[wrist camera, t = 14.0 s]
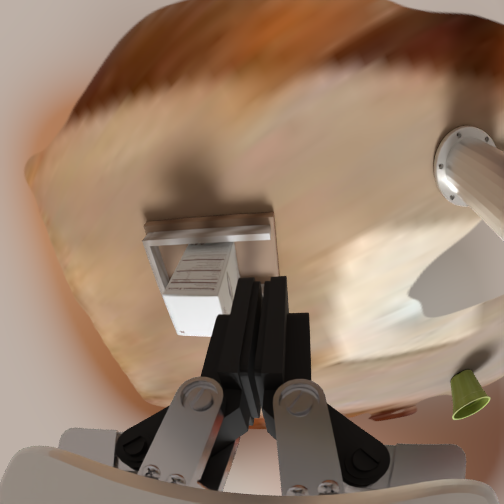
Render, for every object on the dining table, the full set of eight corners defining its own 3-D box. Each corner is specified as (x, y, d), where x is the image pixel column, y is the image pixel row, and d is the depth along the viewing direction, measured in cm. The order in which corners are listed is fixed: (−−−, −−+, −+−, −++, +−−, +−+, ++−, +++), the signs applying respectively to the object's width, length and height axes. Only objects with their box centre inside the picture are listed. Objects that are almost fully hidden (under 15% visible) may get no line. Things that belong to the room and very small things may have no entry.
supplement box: (241, 278, 48) (229, 339, 38) (197, 279, 49) (175, 336, 39) (235, 239, 44) (219, 296, 34) (188, 241, 45) (159, 295, 35)
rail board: (273, 212, 43) (272, 225, 39) (280, 287, 50) (279, 304, 47) (147, 221, 46) (137, 234, 42) (169, 289, 53) (162, 304, 50)
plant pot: (440, 392, 67) (448, 424, 58) (446, 372, 61) (457, 407, 52) (474, 380, 64) (484, 410, 54) (482, 358, 58) (495, 391, 49)
